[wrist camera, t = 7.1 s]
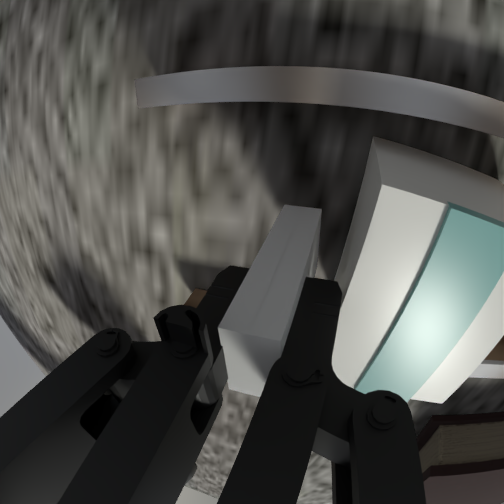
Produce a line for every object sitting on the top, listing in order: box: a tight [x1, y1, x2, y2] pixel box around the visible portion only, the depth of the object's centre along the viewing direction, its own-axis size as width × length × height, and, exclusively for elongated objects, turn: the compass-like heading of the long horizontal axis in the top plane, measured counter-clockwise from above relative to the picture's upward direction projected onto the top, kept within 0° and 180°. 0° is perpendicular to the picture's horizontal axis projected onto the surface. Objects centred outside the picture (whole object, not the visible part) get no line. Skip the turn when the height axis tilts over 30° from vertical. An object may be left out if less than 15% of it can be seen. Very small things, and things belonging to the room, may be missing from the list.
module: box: [332, 136, 504, 404], centre depth 11 cm, size 6×8×6 cm
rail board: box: [135, 66, 504, 378], centre depth 11 cm, size 26×14×4 cm, turn 93°
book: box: [416, 412, 504, 504], centre depth 21 cm, size 28×20×6 cm
